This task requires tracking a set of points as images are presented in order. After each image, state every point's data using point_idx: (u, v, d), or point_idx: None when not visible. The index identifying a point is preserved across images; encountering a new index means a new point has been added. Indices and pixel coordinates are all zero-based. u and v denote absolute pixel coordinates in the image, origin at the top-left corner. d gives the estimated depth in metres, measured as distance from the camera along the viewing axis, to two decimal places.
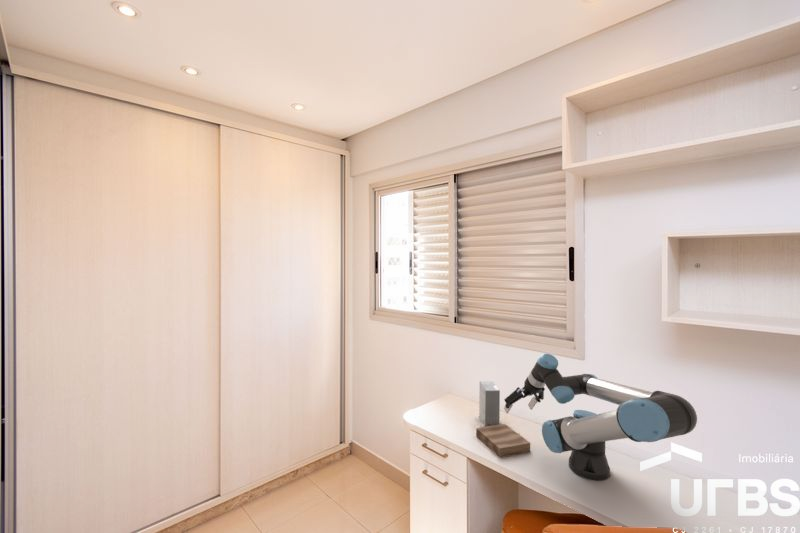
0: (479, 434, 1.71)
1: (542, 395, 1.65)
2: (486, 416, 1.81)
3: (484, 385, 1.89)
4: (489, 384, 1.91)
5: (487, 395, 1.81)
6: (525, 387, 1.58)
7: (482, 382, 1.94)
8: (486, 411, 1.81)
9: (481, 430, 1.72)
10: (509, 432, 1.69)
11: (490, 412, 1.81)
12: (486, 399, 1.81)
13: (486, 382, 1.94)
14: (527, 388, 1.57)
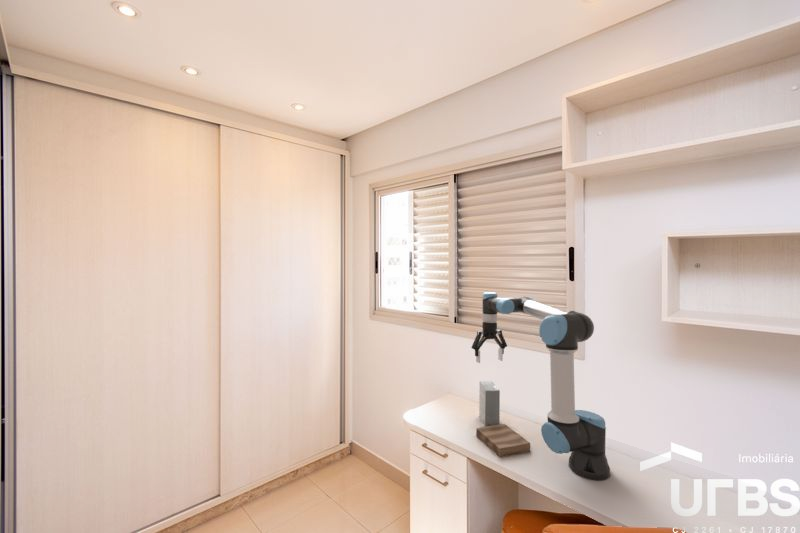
0: (479, 434, 1.71)
1: (503, 340, 1.89)
2: (486, 416, 1.81)
3: (484, 385, 1.89)
4: (489, 384, 1.91)
5: (487, 395, 1.81)
6: (483, 328, 1.87)
7: (482, 382, 1.94)
8: (486, 411, 1.81)
9: (481, 430, 1.72)
10: (509, 432, 1.69)
11: (490, 412, 1.81)
12: (486, 399, 1.81)
13: (486, 382, 1.94)
14: (484, 328, 1.86)
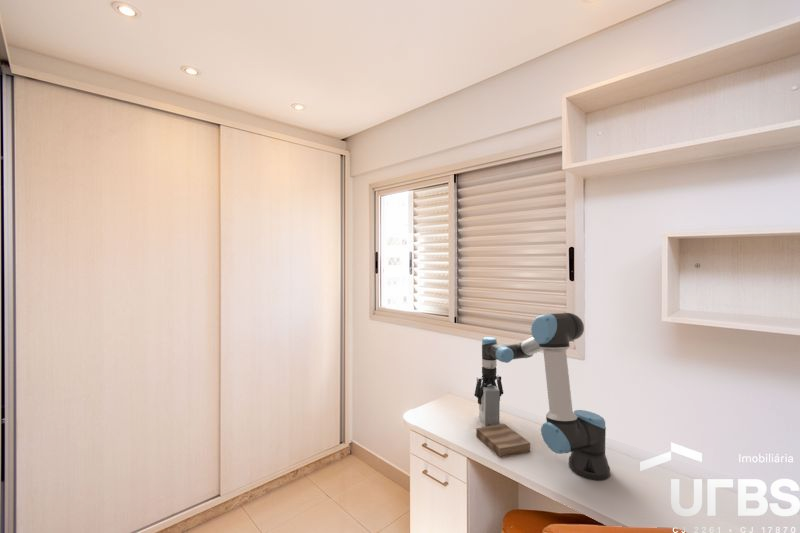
0: (479, 434, 1.71)
1: (501, 387, 1.90)
2: (486, 416, 1.81)
3: None
4: (489, 384, 1.91)
5: (487, 395, 1.81)
6: (482, 374, 1.87)
7: None
8: (486, 411, 1.81)
9: (481, 430, 1.72)
10: (509, 432, 1.69)
11: (490, 412, 1.81)
12: (486, 399, 1.81)
13: None
14: (484, 373, 1.86)
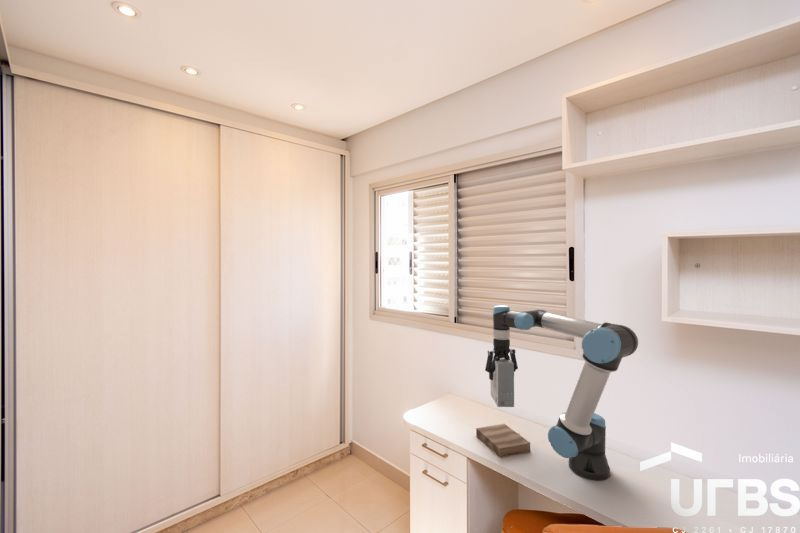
0: (479, 434, 1.71)
1: (515, 361, 1.69)
2: (499, 392, 1.61)
3: None
4: (501, 358, 1.70)
5: (500, 369, 1.61)
6: None
7: (493, 356, 1.74)
8: (499, 387, 1.61)
9: (481, 430, 1.72)
10: (509, 432, 1.69)
11: (504, 388, 1.61)
12: (499, 373, 1.61)
13: None
14: (496, 345, 1.66)
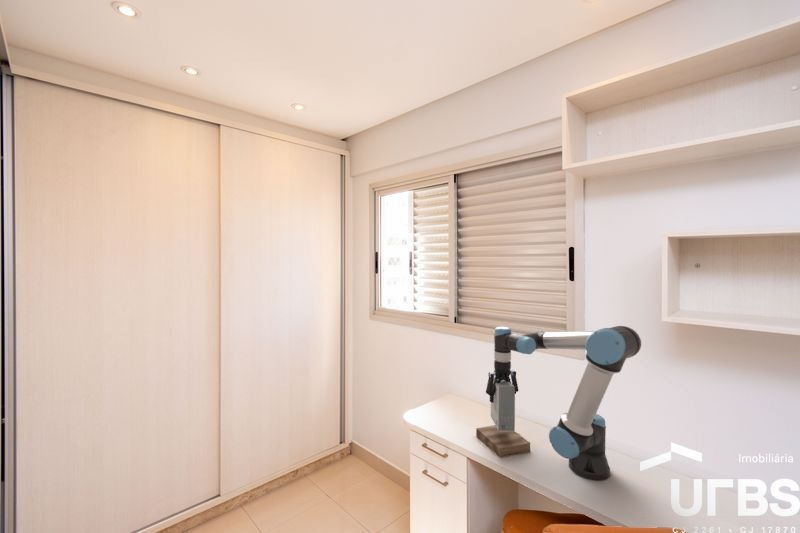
0: (479, 434, 1.71)
1: (516, 383, 1.68)
2: (500, 416, 1.59)
3: None
4: None
5: (501, 392, 1.59)
6: None
7: (494, 378, 1.72)
8: (500, 410, 1.59)
9: (481, 430, 1.72)
10: (509, 432, 1.69)
11: (504, 411, 1.59)
12: (499, 397, 1.59)
13: None
14: (497, 368, 1.64)
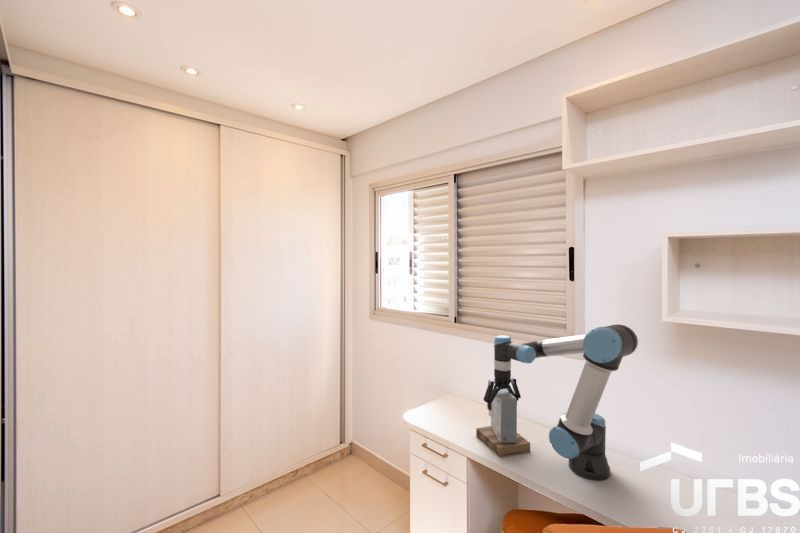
0: (479, 434, 1.71)
1: (517, 390, 1.68)
2: (502, 428, 1.59)
3: (498, 393, 1.67)
4: (503, 391, 1.69)
5: (503, 404, 1.59)
6: (495, 377, 1.65)
7: None
8: (502, 423, 1.59)
9: (481, 430, 1.72)
10: None
11: (507, 423, 1.59)
12: (502, 409, 1.59)
13: None
14: (497, 376, 1.65)
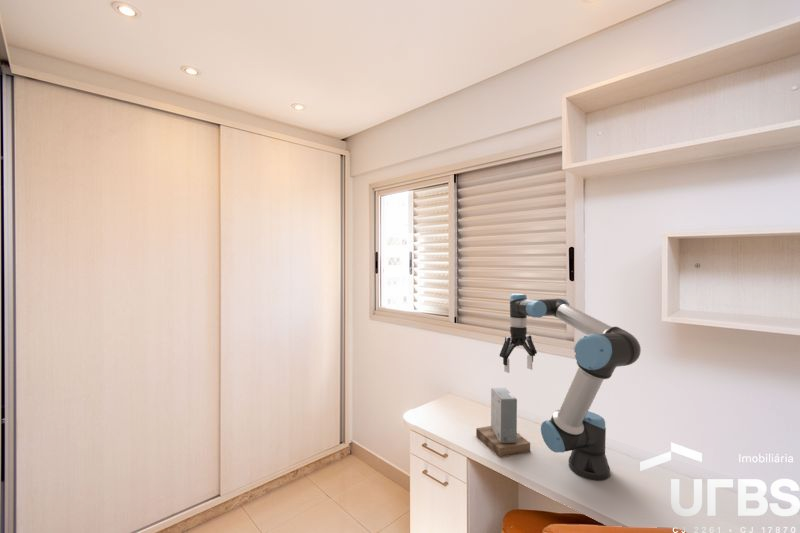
0: (479, 434, 1.71)
1: (533, 346, 1.71)
2: (502, 428, 1.59)
3: (498, 393, 1.67)
4: (503, 391, 1.69)
5: (503, 404, 1.59)
6: (512, 334, 1.68)
7: (494, 389, 1.72)
8: (502, 423, 1.59)
9: (481, 430, 1.72)
10: None
11: (507, 423, 1.59)
12: (502, 409, 1.59)
13: (499, 389, 1.72)
14: (513, 333, 1.67)
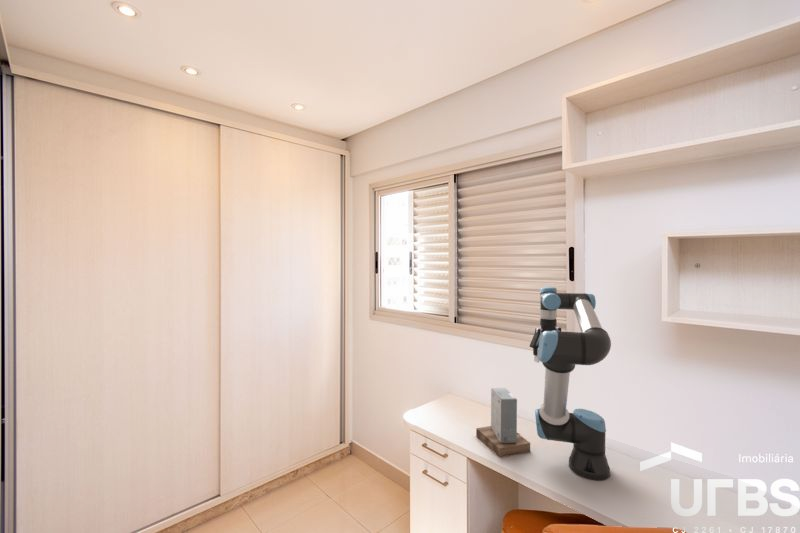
0: (479, 434, 1.71)
1: None
2: (502, 428, 1.59)
3: (498, 393, 1.67)
4: (503, 391, 1.69)
5: (503, 404, 1.59)
6: (542, 326, 1.74)
7: (494, 389, 1.72)
8: (502, 423, 1.59)
9: (481, 430, 1.72)
10: None
11: (507, 423, 1.59)
12: (502, 409, 1.59)
13: (499, 389, 1.72)
14: (543, 325, 1.74)
